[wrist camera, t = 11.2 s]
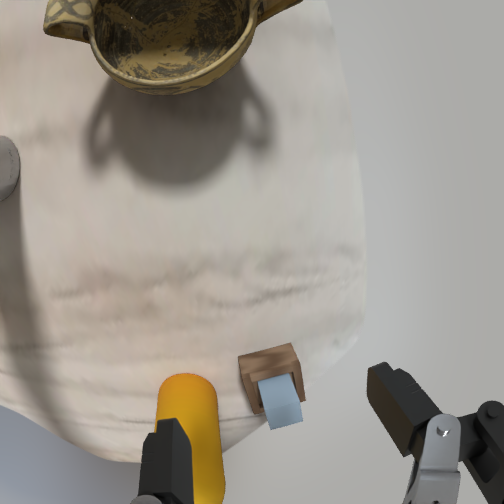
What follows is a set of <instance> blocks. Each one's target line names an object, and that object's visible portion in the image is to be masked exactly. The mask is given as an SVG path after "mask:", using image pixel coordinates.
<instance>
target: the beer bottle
mask: <svg viewBox="0 0 504 504" xmlns="http://www.w3.org/2000/svg"><path fill="white" fill-rule="evenodd" d="M169 418H177V419H178V421H179V423H180V424H181V426H182V428H183V429H184V431H185V433H186V434H187V436H188V438H189V440H190V443H191V447H192V466H193V489H194V504H222V502H223V499H224V494H225V476H224V469H223V460H222V450H221V440H220V430H219V419H218V403H217V395H216V391H215V389H214V387H213V386H212V384H211V383H210V382H209V381H208V380H206V379H204V378H203V377H200V376H198V375H194V374H177V375H173V376H171V377H169V378H168V379H166V380H165V381H164V382H163V383H162V385H161V387H160V389H159V394H158V402H157V412H156V421H155V430H154V433H155V432H156V427H157V421H158V420H161V419H169Z"/></svg>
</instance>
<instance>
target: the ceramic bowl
mask: <svg viewBox="0 0 504 504" xmlns="http://www.w3.org/2000/svg"><path fill="white" fill-rule="evenodd" d="M302 1H303V0H49V2H48V5H47V9H46V14H45V19H44V25H43V30H44V32H45V34H47V35H50V36H54V37H60V38H65V39H71V40H76V41H81V42H85V43H89V44H90V45H91V49H92V51H93V54H94V56H95V58H96V60H97V61H98V63H99V64H100V66H101V67H102V69H103V70H104V71H105V72H106V73H107V74H108V75H110V76H111V77H112V78H113V79H114V80H115V81H117V82H118V83H120V84H122V85H123V86H126V87H128V88H130V89H133V90H135V91H138V92H142V93H147V94H151V95H176V94H181V93H186V92H190V91H193V90H196V89H198V88H201V87H204V86H206V85H208V84H210V83H212V82H213V81H215V80H216V79H218V78H220V77H221V76H223V75H224V74H225V73H227V72H228V71H229V70H230V69H231V68H233V67H234V65H235V64H236V63H237V62H238V61H239V60H240V59H241V58H242V57H243V55H244V54H245V53H246V51H247V49H248V48H249V46H250V44H251V42H252V39H253V36H254V32H255V29H256V27H257V26H258V25H259V24H260V23H262V22H263V21H265V20H267V19H269V18H270V17H272V16H274V15H276V14H278V13H280V12H282V11H283V10H286V9H288V8H290V7H292V6H295V5H297V4H299V3H301V2H302ZM131 17H132V19H131ZM125 26H126V27H125ZM168 46H170V47H169V48H168ZM164 55H166V56H164Z"/></svg>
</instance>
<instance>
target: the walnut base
mask: <svg viewBox="0 0 504 504" xmlns="http://www.w3.org/2000/svg"><path fill="white" fill-rule="evenodd" d="M238 358H239V364H240V369H241V375H242V380H243V383H244V386H245V389H246V392H247V395H248V398H249V401H250V404H251V407H252V410H253V413H254V414H259V413H263V412H265V410H264V406H263V402H262V398H261V394H260V390H259V386H258V382H257V381H260V380H263V379H267V378H271V377H275V376H279V375H282V374H286V373H289V375H290V377H291V380H292V382H293V385H294V387H295V390H296V393H297V395H298V398H299V400H300V402H303V401H306V399H305V392H304V385H303V379H302V372H301V366H300V362H299V360H298V358H297V355H296V353H295V351H294V349H293V346H292V344H291V343H288V344H284V345H281V346H277V347H273V348H269V349H266V350H262V351H258V352H254V353H250V354H246V355H242V356H238Z"/></svg>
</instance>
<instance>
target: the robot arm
mask: <svg viewBox="0 0 504 504" xmlns="http://www.w3.org/2000/svg"><path fill="white" fill-rule="evenodd" d="M19 170H20V161H19V155H18V152H17V149H16V147H15V145H14V143H13V142H12V141H11V140H10V139H9V138H7V137H5V136H0V201H1V200H3V199H5V198H7V197H8V196H9V195H10V194H11V192H12V191H13V190H14V188H15V185H16V183H17V180H18V177H19ZM367 397H368V400H369V403H370V404H371V406H372V408H373V409H374V411H375V412H376V414H377V416H378V417H379V419H380V420H381V422H382V424H383V425H384V427H385V428H386V430H387V432H388V433H389V435H390V436H391V438H392V439H393V441H394V443H395V444H396V446H397V448H398V449H399V451H400V453H401V454H402V456H403V457H406V456H408V455H410V454H412V455H413V457H414V458H415V459H414V462H413V467H412V471H411V475H410V479H409V483H408V487H407V491H406V495H405V498H404V501H403V503H402V504H456V503H457V497H458V491H459V485H460V472H459V471H458V470H457V466H458V462H460V461H463V463H464V464H465V466H466V467H467V469H468V471H469V472H470V474H471V475H472V477H473V479H474V480H475V482H476V484H477V485H478V487H479V489H480V490H481V492H482V494H483V495H484V497H485V498H486V500H487V502H488V504H504V405H502V404H501V403H500V402H497V401H487V402H485V403H483V404H482V405H481V406H480V408H479V409H478V411H477V412H476V413H473V414H469V415H466V416H463V417H455V416H453V415H450V414H443V413H442V412H441V411H440V410H439V408H438V407H437V406H436V405H435V404H434V403H433V401H432V400H431V399H430V398H429V397H428V395H427V394H426V393H425V392H424V391H423V390H422V389H421V387H420V386H419V384H418V383H416V381H415V380H414V379H413V377H412V376H411V375H410V374H409V373H407V372H405V371H403V370H402V369H400V368H399V369H396V370H393V369H392V368H391V367H390V366H389V364H388V363H387V362H382V363H380V364H377V365H375V366H372V367H370V368H368V376H367ZM142 454H143V455H142V460H141V462H142V464H141V470H140V481H139V492H138V496H137V497H136V498H135V499H134V500H132V502H131V503H130V504H194V489H193V466H192V447H191V443H190V440H189V438H188V436H187V434H186V433H185V431H184V429H183V428H182V426H181V424H180V423H179V421H178V419H177V418H169V419H161V420H158V421H157V427H156V432H155V433H149V434H148V436H147V438H146V439H145V441H144V443H143V451H142Z"/></svg>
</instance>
